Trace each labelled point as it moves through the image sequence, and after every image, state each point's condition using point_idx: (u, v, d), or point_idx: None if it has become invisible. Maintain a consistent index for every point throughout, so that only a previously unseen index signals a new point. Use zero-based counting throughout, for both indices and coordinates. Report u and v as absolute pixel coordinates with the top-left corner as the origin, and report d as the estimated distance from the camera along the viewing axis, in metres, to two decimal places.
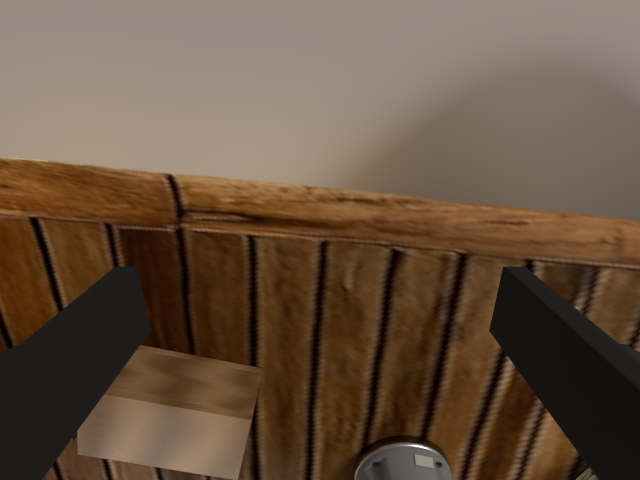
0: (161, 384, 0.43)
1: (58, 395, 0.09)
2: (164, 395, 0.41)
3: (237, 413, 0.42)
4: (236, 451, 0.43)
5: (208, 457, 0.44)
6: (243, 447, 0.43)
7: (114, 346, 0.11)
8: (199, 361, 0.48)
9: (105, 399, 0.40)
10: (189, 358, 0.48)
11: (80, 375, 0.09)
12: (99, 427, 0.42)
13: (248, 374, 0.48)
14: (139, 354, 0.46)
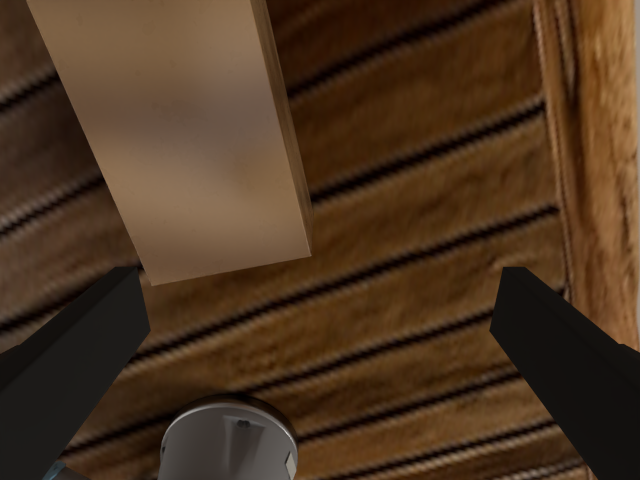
0: (270, 61, 0.21)
1: (58, 395, 0.09)
2: (271, 77, 0.20)
3: (305, 226, 0.22)
4: (223, 259, 0.22)
5: (177, 218, 0.21)
6: (238, 266, 0.23)
7: (114, 346, 0.11)
8: (288, 112, 0.26)
9: None
10: (285, 92, 0.26)
11: (80, 375, 0.09)
12: None
13: (308, 201, 0.28)
14: None
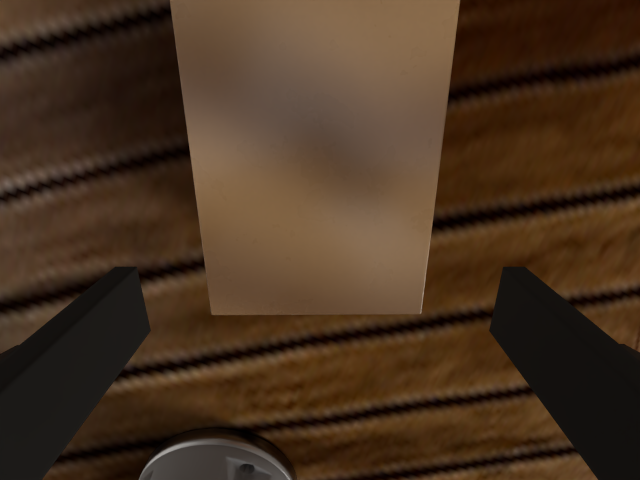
0: None
1: (58, 395, 0.09)
2: None
3: None
4: (313, 298, 0.18)
5: (272, 239, 0.17)
6: (329, 310, 0.18)
7: (114, 346, 0.11)
8: None
9: None
10: None
11: (80, 375, 0.09)
12: None
13: None
14: None
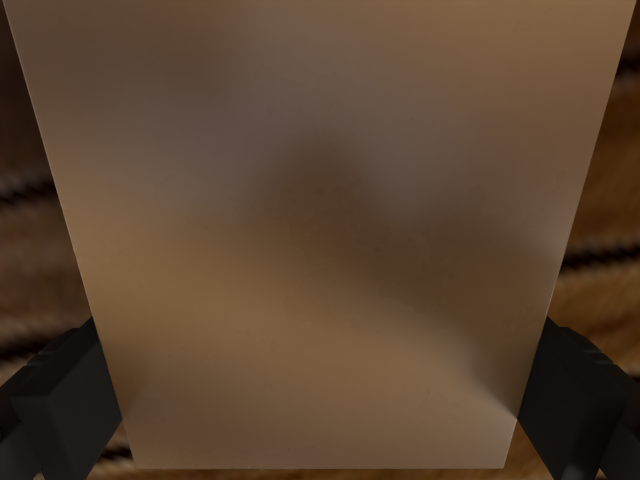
0: None
1: None
2: None
3: None
4: (314, 447, 0.10)
5: (237, 355, 0.09)
6: (342, 463, 0.10)
7: None
8: None
9: None
10: None
11: None
12: None
13: None
14: None
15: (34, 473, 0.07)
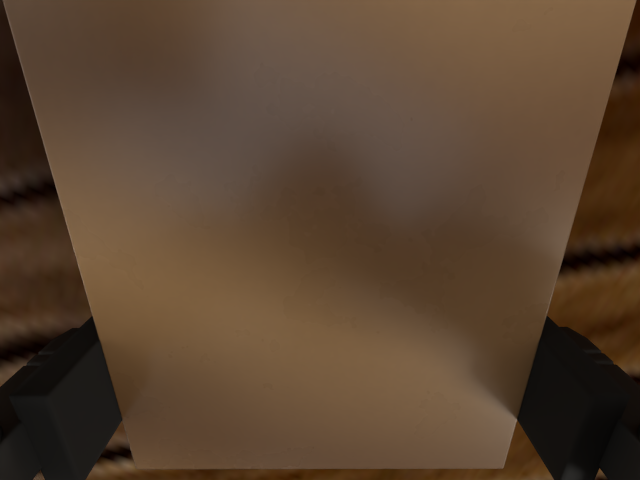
0: None
1: None
2: None
3: None
4: (314, 447, 0.10)
5: (237, 355, 0.09)
6: (342, 463, 0.10)
7: None
8: None
9: None
10: None
11: None
12: None
13: None
14: None
15: (34, 473, 0.07)
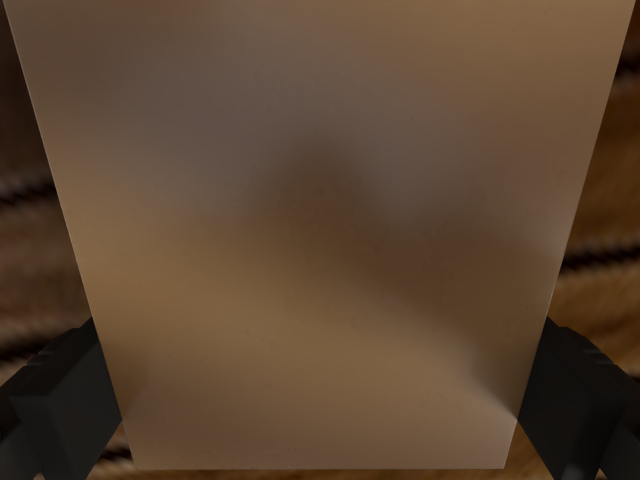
0: None
1: None
2: None
3: None
4: (314, 447, 0.10)
5: (237, 355, 0.09)
6: (343, 463, 0.10)
7: None
8: None
9: None
10: None
11: None
12: None
13: None
14: None
15: (34, 473, 0.07)
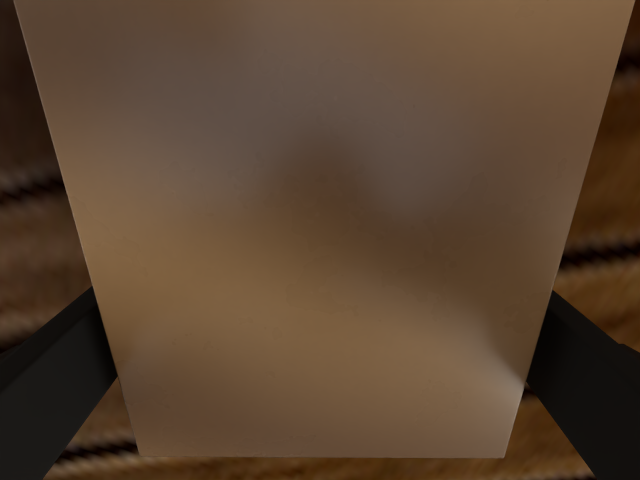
0: None
1: (58, 395, 0.09)
2: None
3: None
4: (316, 435, 0.10)
5: (240, 343, 0.09)
6: (344, 451, 0.10)
7: None
8: None
9: None
10: None
11: (80, 375, 0.09)
12: None
13: None
14: None
15: None
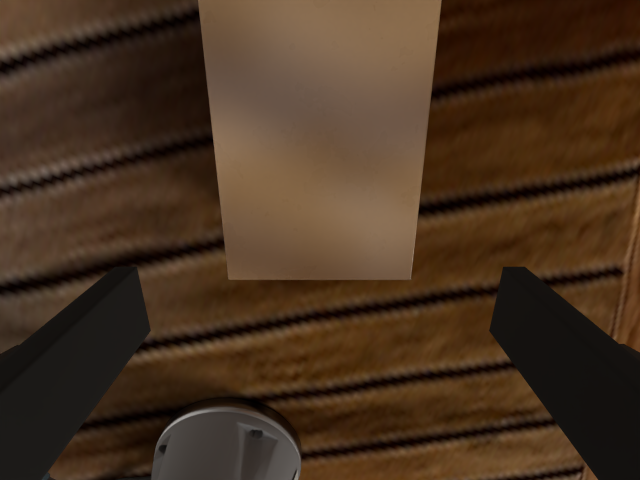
0: None
1: (58, 395, 0.09)
2: None
3: None
4: (316, 265, 0.20)
5: (282, 212, 0.19)
6: (330, 276, 0.21)
7: (114, 346, 0.11)
8: None
9: None
10: None
11: (80, 375, 0.09)
12: None
13: None
14: None
15: None
